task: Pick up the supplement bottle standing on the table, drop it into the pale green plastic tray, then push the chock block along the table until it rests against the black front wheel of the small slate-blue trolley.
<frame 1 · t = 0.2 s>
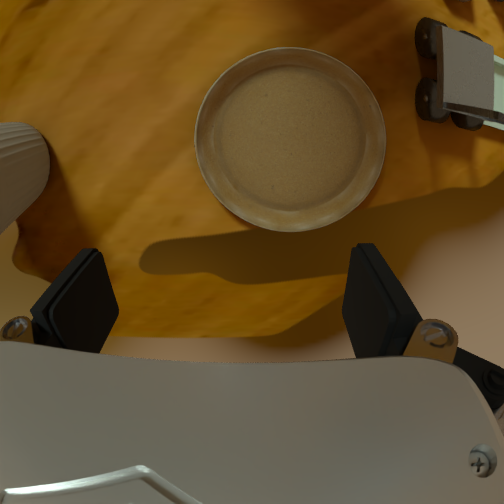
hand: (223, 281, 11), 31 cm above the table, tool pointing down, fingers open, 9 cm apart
tray: (497, 93, 31), on the table
canister: (27, 160, 38), on the table
plant saucer: (290, 138, 38), on the table
trolley: (440, 74, 32), on the table
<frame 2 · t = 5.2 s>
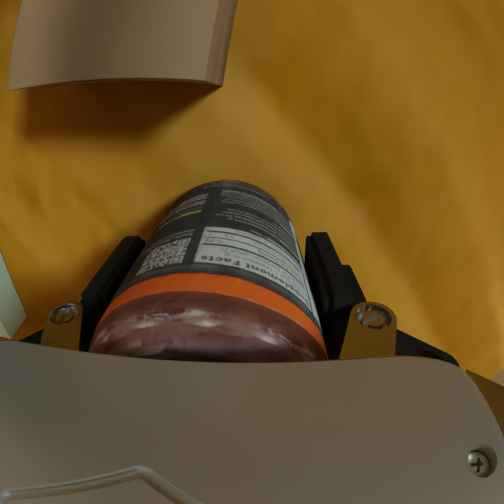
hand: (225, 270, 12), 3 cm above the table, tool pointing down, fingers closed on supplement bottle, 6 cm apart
supplement bottle: (229, 237, 14), on the table, touching gripper
chock: (148, 27, 9), on the table
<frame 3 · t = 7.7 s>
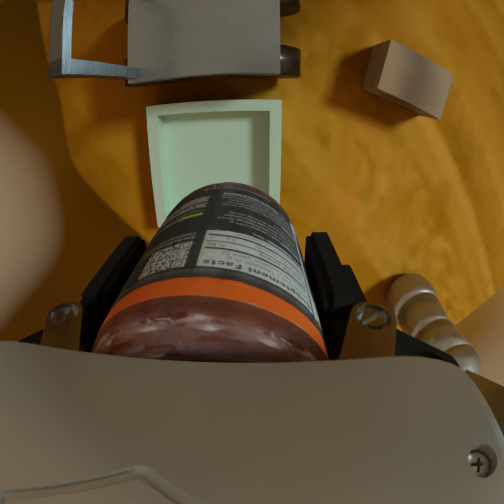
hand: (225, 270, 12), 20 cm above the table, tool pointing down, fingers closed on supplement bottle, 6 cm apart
plastic bottle: (403, 287, 36), on the table
tray: (217, 160, 29), on the table
supplement bottle: (230, 239, 14), point 17 cm above the table, touching gripper
chock: (397, 80, 24), on the table
trolley: (214, 37, 23), on the table
when the fingers open (5 cm above the table, at t = 10.4 s): supplement bottle drops 2 cm, resting on tray.
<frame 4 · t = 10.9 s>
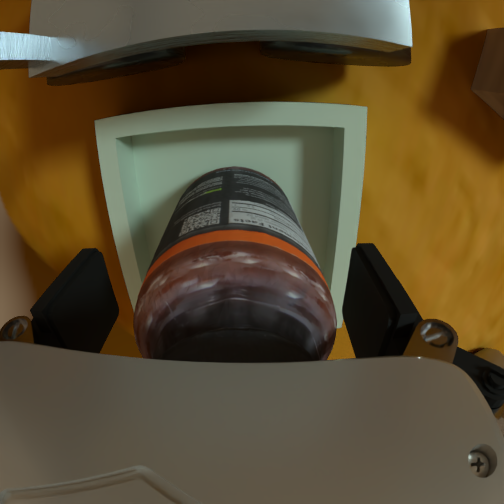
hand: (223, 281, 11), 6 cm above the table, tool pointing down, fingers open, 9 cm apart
plastic bottle: (472, 361, 24), on the table
tray: (234, 215, 16), on the table
supplement bottle: (234, 217, 16), point 1 cm above the table, touching tray
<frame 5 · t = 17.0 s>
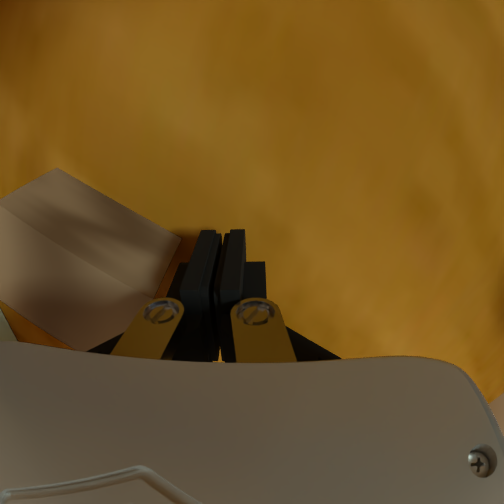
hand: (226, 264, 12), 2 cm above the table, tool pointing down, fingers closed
chock: (100, 242, 14), on the table
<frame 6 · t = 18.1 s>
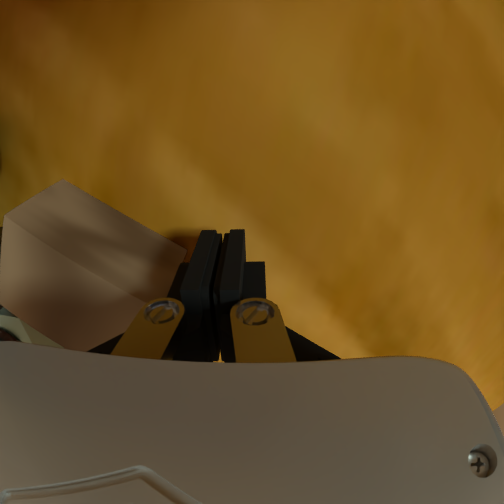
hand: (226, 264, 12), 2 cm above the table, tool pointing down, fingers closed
tray: (17, 348, 18), on the table
chock: (106, 253, 14), on the table, touching gripper, trolley
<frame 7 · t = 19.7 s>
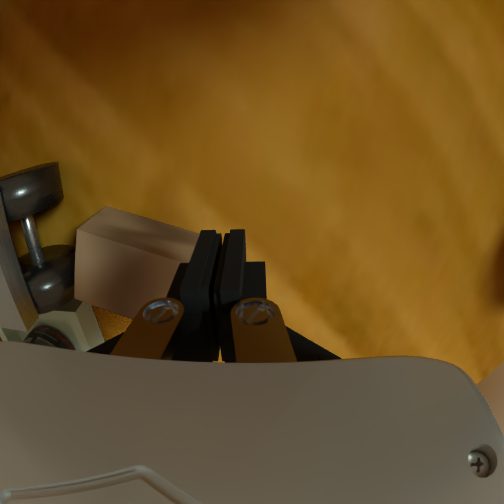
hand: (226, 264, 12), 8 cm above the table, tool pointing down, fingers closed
tray: (58, 343, 25), on the table
supplement bottle: (56, 345, 24), resting on tray
chock: (146, 250, 21), on the table
trolley: (15, 224, 19), on the table
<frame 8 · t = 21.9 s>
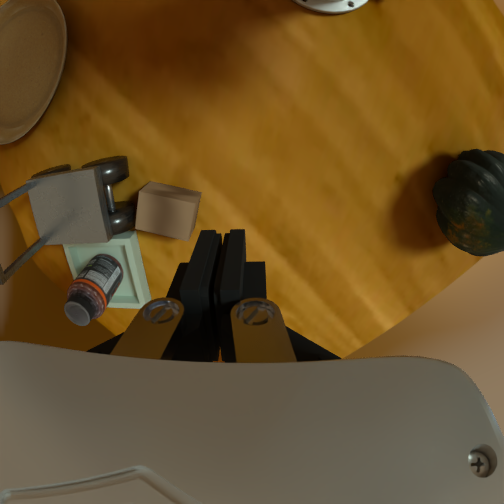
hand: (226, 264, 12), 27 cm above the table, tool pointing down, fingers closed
squash: (461, 187, 37), on the table
tray: (109, 267, 44), on the table
supplement bottle: (108, 267, 44), resting on tray
chock: (172, 203, 40), on the table
plant saucer: (18, 66, 28), on the table
trolley: (91, 190, 38), on the table
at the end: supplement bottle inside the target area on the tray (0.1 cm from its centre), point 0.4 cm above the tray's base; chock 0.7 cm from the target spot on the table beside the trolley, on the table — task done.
